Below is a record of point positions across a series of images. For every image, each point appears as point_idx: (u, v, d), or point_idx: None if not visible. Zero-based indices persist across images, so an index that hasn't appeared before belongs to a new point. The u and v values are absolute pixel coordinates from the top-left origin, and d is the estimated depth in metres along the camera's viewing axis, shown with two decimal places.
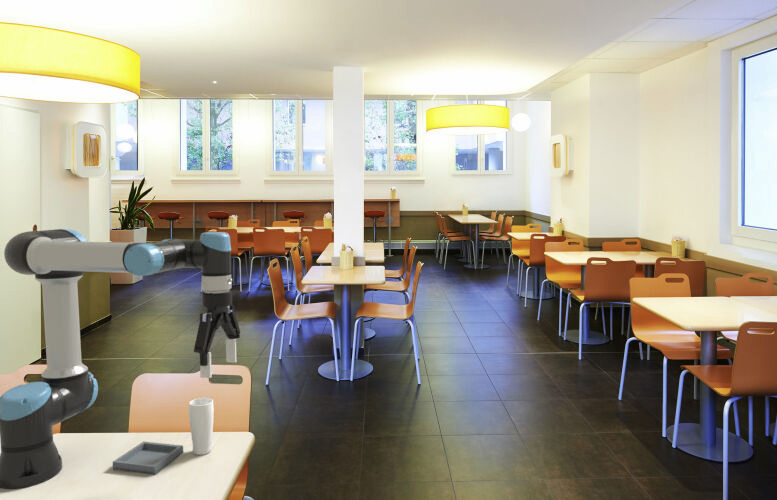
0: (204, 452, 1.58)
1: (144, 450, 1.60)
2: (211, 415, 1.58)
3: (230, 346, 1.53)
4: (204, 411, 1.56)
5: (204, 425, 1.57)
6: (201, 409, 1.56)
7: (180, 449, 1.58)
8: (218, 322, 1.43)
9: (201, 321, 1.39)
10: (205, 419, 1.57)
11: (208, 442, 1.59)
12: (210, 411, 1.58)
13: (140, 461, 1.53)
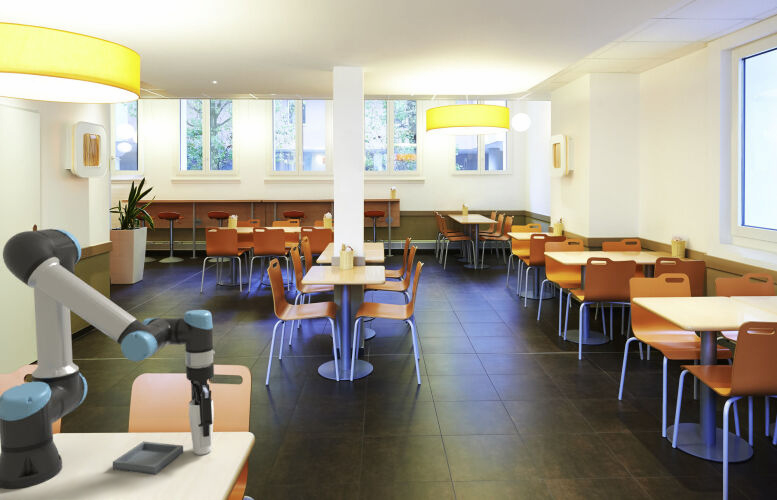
0: (204, 452, 1.58)
1: (144, 450, 1.60)
2: None
3: None
4: None
5: None
6: None
7: (180, 449, 1.58)
8: None
9: (203, 398, 1.53)
10: None
11: None
12: None
13: (140, 461, 1.53)
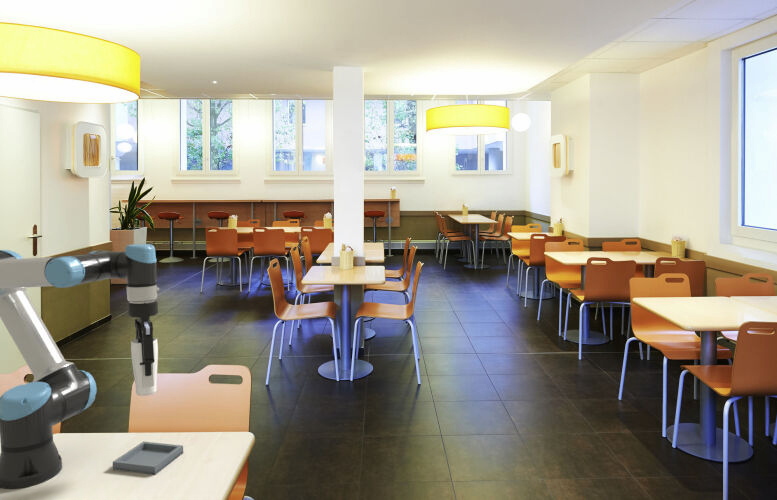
0: (147, 393, 1.50)
1: (144, 450, 1.60)
2: (154, 354, 1.51)
3: None
4: None
5: None
6: None
7: (180, 449, 1.58)
8: None
9: (144, 335, 1.45)
10: None
11: None
12: None
13: (140, 461, 1.53)
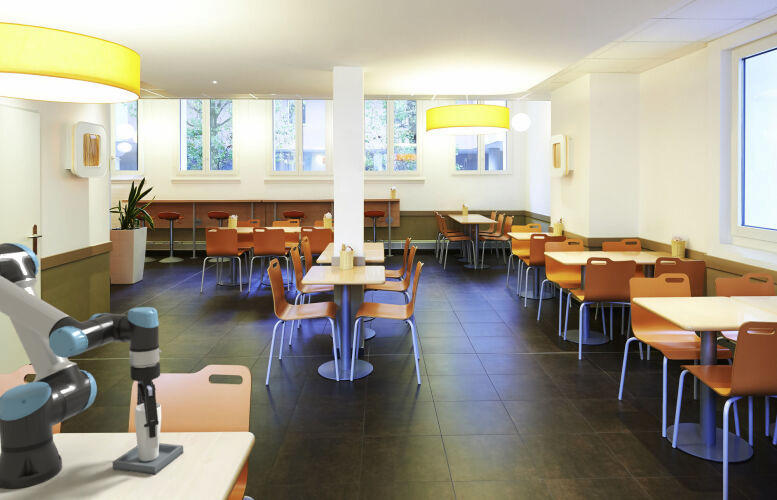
0: (149, 459, 1.52)
1: None
2: (158, 421, 1.53)
3: None
4: None
5: None
6: None
7: (180, 449, 1.58)
8: None
9: (147, 396, 1.46)
10: None
11: (154, 449, 1.53)
12: None
13: (140, 461, 1.53)
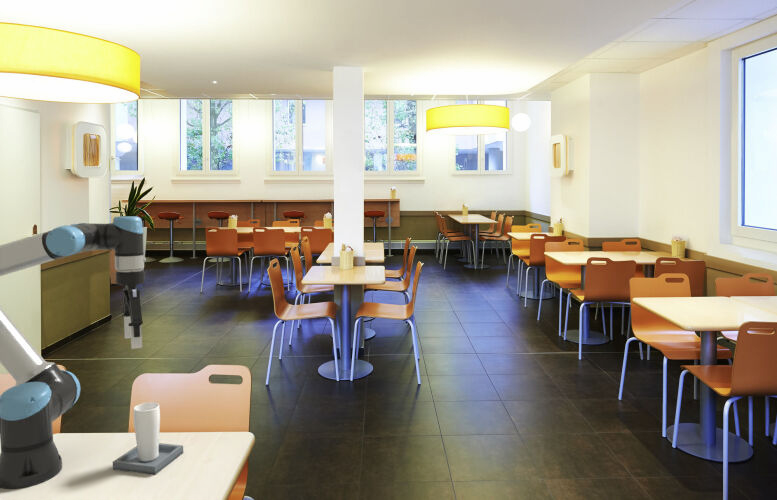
0: (149, 459, 1.53)
1: None
2: (157, 421, 1.53)
3: (129, 323, 1.65)
4: (148, 416, 1.51)
5: (149, 431, 1.51)
6: (146, 414, 1.51)
7: (180, 449, 1.58)
8: None
9: (131, 297, 1.52)
10: (150, 425, 1.51)
11: (153, 448, 1.53)
12: (155, 416, 1.52)
13: (140, 461, 1.53)
